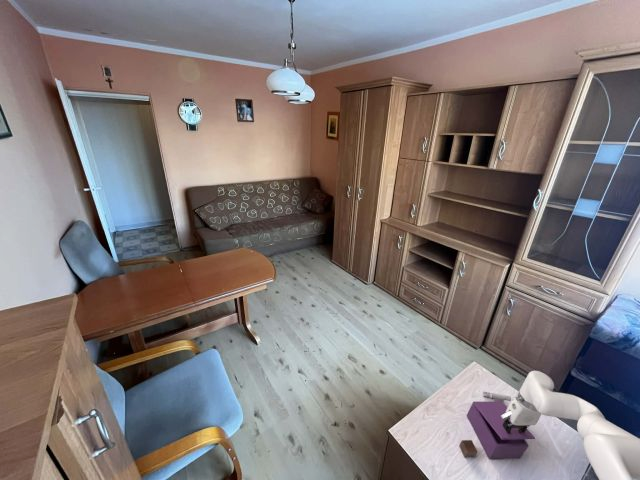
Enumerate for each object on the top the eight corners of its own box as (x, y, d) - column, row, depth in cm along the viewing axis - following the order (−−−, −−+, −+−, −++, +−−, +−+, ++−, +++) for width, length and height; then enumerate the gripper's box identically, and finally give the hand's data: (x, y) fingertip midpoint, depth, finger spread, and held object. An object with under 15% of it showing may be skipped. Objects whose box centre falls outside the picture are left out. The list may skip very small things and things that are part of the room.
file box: (519, 458, 112) (529, 445, 108) (488, 459, 111) (496, 446, 107) (493, 415, 128) (500, 402, 124) (466, 415, 127) (472, 402, 123)
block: (474, 457, 112) (477, 451, 110) (464, 457, 111) (467, 452, 110) (468, 445, 116) (471, 440, 114) (459, 445, 115) (461, 440, 114)
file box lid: (534, 439, 105) (537, 428, 104) (501, 439, 104) (503, 428, 104) (501, 402, 124) (502, 393, 123) (472, 402, 123) (474, 393, 122)
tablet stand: (499, 397, 137) (505, 386, 133) (506, 412, 130) (513, 401, 126) (482, 393, 138) (487, 383, 134) (488, 408, 131) (493, 398, 127)
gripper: (515, 409, 96) (498, 439, 104) (559, 409, 97) (540, 439, 105) (501, 390, 103) (487, 419, 111) (543, 390, 104) (526, 419, 111)
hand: (513, 428), depth 107 cm, fingers closed on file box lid, 5 cm apart
